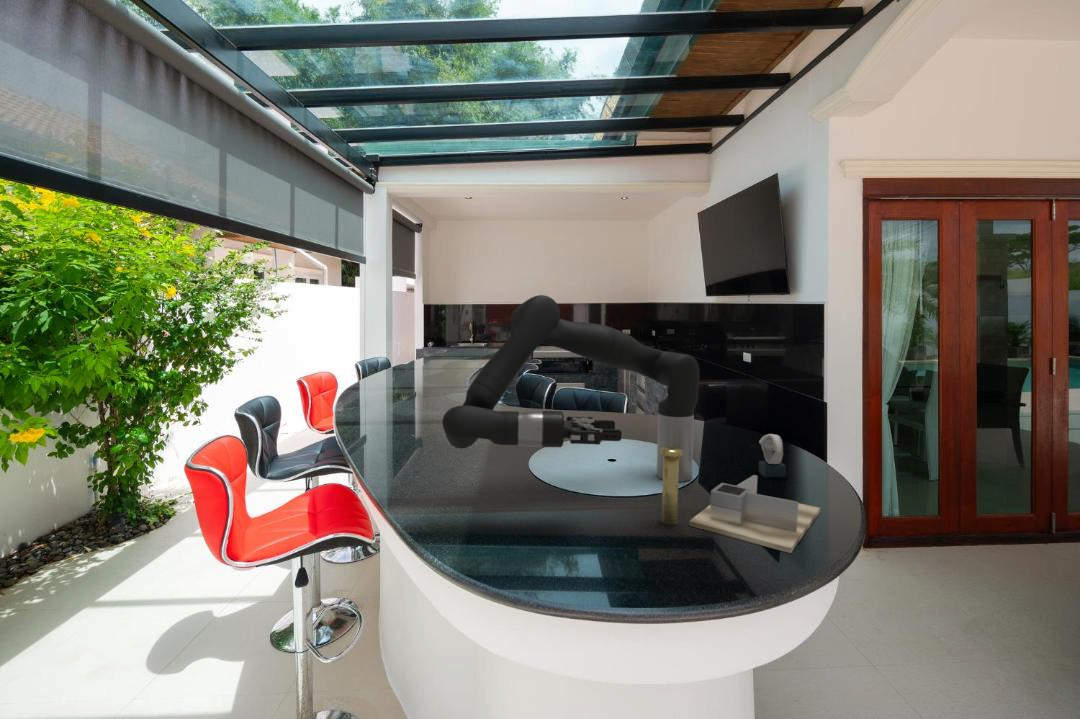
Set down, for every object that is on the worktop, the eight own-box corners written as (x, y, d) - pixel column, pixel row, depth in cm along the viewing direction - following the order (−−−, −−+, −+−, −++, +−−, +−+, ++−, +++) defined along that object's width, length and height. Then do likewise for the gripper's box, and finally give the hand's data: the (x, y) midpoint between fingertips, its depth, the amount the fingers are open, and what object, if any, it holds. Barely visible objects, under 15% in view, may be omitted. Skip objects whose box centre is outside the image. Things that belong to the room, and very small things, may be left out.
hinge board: (730, 492, 133) (730, 488, 133) (820, 512, 121) (820, 507, 120) (689, 525, 114) (689, 521, 113) (790, 553, 101) (790, 548, 101)
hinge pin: (664, 516, 118) (666, 445, 117) (683, 521, 116) (685, 448, 114) (655, 522, 115) (657, 449, 113) (674, 528, 112) (676, 453, 110)
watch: (775, 469, 150) (777, 431, 149) (788, 479, 142) (790, 438, 141) (755, 469, 151) (757, 431, 149) (767, 479, 143) (768, 438, 141)
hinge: (735, 496, 128) (736, 471, 127) (810, 512, 118) (812, 486, 117) (709, 517, 115) (710, 490, 114) (791, 538, 105) (792, 509, 104)
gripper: (541, 418, 105) (624, 420, 105) (540, 404, 119) (613, 406, 119) (540, 456, 106) (622, 457, 106) (539, 437, 120) (612, 439, 120)
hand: (617, 430), depth 113 cm, fingers open, 8 cm apart
